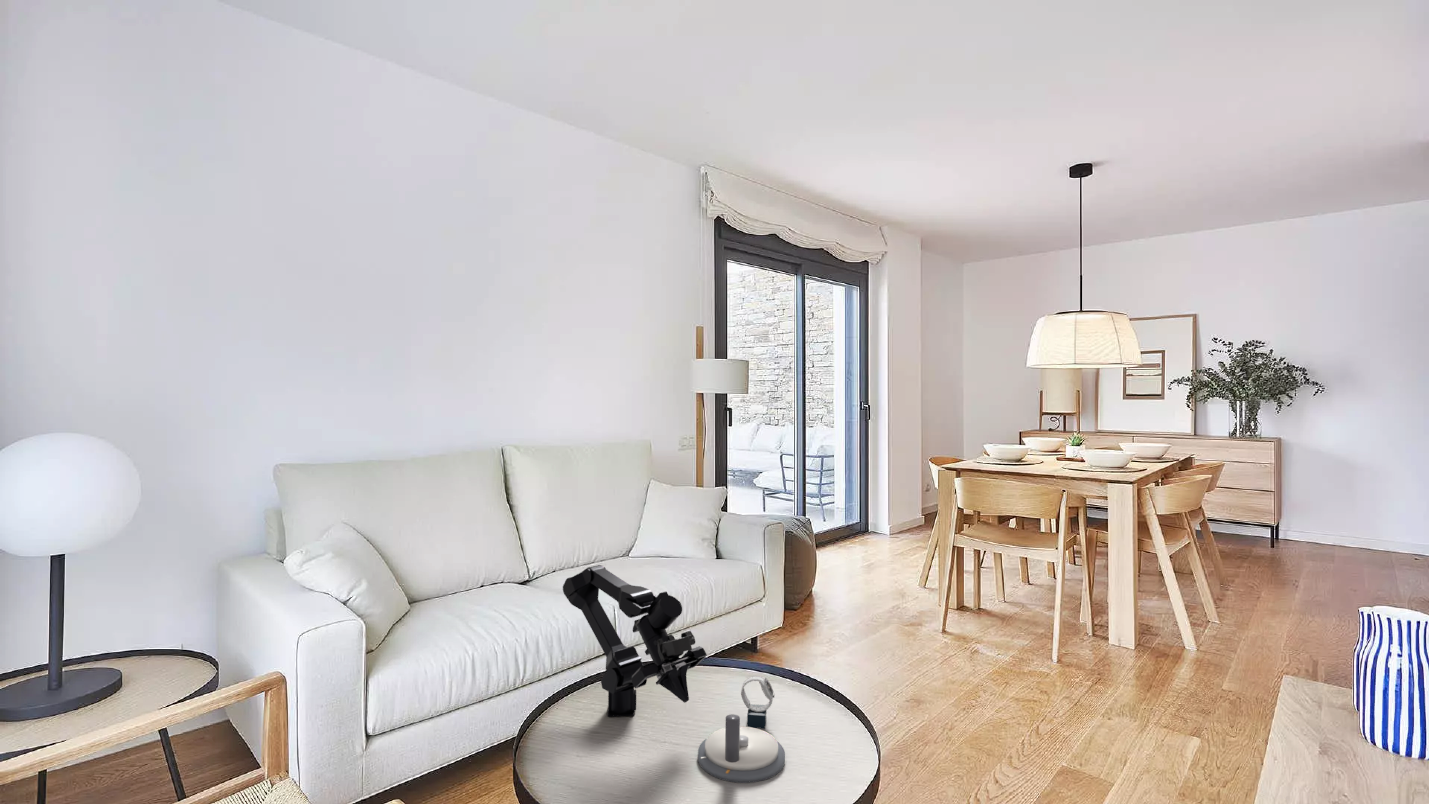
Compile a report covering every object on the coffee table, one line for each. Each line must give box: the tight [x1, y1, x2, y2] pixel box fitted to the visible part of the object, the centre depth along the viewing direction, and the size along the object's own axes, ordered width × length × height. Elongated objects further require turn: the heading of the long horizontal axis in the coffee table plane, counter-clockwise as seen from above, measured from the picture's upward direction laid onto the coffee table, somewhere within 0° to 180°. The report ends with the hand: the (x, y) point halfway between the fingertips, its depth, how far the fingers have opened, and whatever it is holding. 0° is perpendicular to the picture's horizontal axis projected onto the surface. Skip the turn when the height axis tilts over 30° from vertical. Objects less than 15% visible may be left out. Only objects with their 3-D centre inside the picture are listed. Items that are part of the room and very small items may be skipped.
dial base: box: [697, 738, 786, 784], centre depth 161 cm, size 19×19×2 cm
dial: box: [705, 714, 778, 771], centre depth 160 cm, size 16×16×10 cm
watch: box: [740, 675, 775, 730], centre depth 177 cm, size 6×8×11 cm
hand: (686, 701), depth 164 cm, fingers closed
